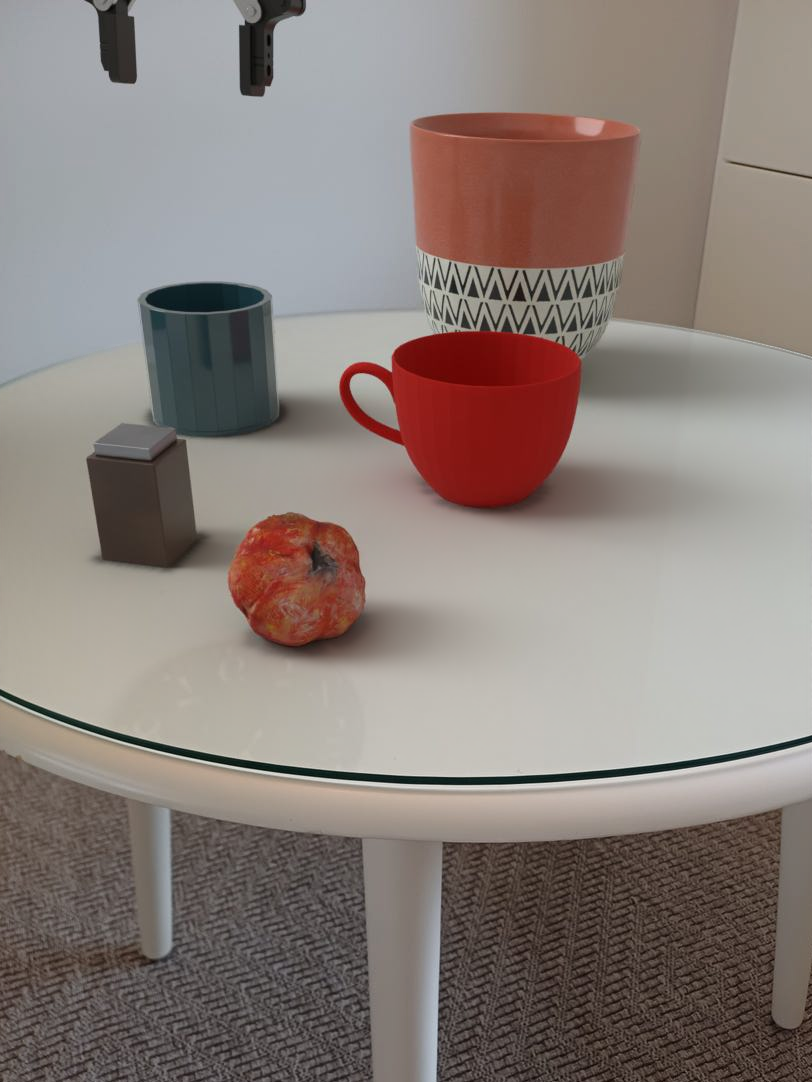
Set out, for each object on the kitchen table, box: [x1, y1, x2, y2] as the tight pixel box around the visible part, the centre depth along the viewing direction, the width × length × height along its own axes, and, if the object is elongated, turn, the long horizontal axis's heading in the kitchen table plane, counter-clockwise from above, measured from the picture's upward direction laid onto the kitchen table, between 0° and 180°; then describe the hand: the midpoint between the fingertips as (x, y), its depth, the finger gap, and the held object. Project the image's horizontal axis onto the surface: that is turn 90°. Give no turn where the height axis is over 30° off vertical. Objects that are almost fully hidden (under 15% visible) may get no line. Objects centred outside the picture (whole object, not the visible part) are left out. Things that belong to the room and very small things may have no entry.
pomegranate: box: [227, 511, 366, 647], centre depth 62 cm, size 7×7×10 cm
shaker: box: [85, 422, 198, 569], centre depth 70 cm, size 4×4×8 cm
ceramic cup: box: [338, 331, 582, 509], centre depth 79 cm, size 13×17×10 cm
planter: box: [409, 111, 643, 361], centre depth 100 cm, size 20×20×21 cm
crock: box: [136, 280, 280, 438], centre depth 91 cm, size 10×10×10 cm
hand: (187, 89), depth 69 cm, fingers open, 8 cm apart
